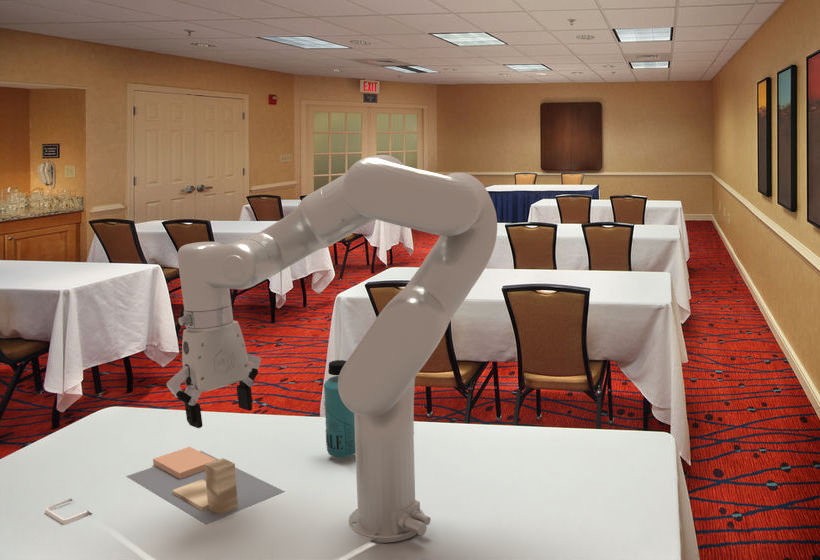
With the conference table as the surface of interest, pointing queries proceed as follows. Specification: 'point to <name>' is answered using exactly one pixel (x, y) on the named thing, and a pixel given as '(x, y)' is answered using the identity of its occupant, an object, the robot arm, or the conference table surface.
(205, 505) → the stepped wooden block
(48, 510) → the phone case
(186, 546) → the conference table surface
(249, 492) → the slate board
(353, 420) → the beverage bottle
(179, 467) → the tile
